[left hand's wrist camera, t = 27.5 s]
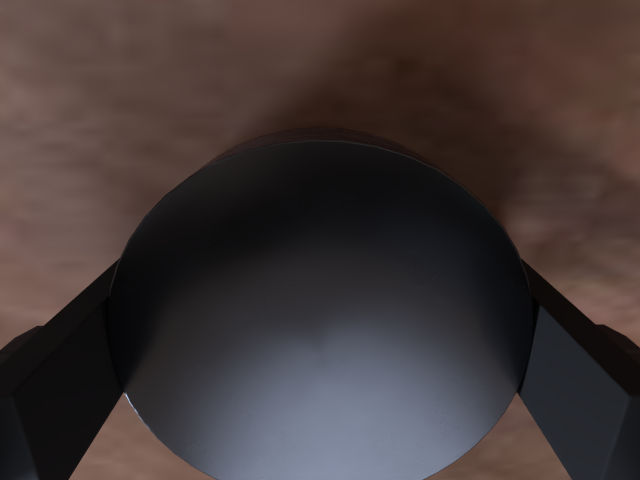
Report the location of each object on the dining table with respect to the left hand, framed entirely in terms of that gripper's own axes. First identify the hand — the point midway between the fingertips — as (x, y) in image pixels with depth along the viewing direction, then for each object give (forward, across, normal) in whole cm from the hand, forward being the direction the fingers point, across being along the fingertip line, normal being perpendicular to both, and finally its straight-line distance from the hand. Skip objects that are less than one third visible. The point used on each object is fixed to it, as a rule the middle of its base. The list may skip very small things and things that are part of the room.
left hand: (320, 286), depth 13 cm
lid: (-3, 0, 0) cm, 3 cm away
